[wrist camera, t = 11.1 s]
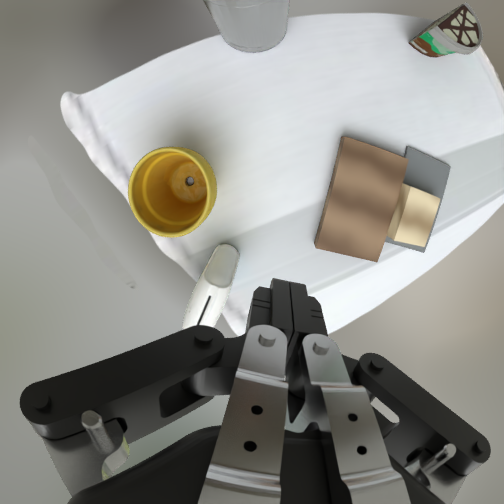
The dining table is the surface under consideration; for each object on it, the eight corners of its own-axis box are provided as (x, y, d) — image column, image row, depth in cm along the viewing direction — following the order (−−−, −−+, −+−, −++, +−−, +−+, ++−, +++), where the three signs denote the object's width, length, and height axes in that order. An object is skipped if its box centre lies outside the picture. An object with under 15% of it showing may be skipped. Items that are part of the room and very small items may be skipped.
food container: (430, 77, 27) (466, 66, 18) (403, 47, 26) (435, 27, 17) (461, 46, 23) (494, 34, 14) (437, 18, 22) (467, 1, 13)
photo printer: (220, 302, 45) (204, 352, 33) (196, 291, 44) (173, 339, 33) (244, 250, 41) (233, 293, 29) (218, 238, 40) (196, 277, 29)
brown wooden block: (341, 136, 33) (344, 136, 31) (402, 158, 33) (408, 159, 31) (313, 243, 39) (315, 248, 38) (372, 256, 39) (377, 262, 38)
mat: (406, 146, 32) (408, 146, 32) (448, 166, 33) (450, 166, 32) (380, 239, 38) (381, 240, 38) (422, 251, 38) (424, 252, 38)
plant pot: (147, 166, 37) (113, 175, 28) (208, 133, 35) (186, 130, 26) (177, 226, 40) (152, 251, 31) (239, 198, 38) (228, 216, 29)
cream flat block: (402, 183, 33) (410, 186, 31) (432, 195, 34) (440, 198, 32) (386, 235, 36) (393, 240, 34) (417, 242, 37) (424, 247, 36)
